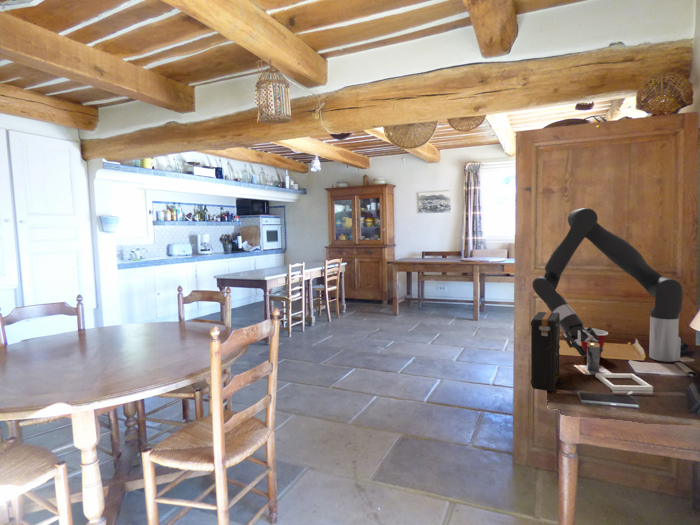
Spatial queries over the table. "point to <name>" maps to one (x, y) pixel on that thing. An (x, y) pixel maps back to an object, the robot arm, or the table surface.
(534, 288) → the robot arm
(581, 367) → the plate
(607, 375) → the white square tray
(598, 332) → the plastic cup
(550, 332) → the black carrying case
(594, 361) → the battery cell
